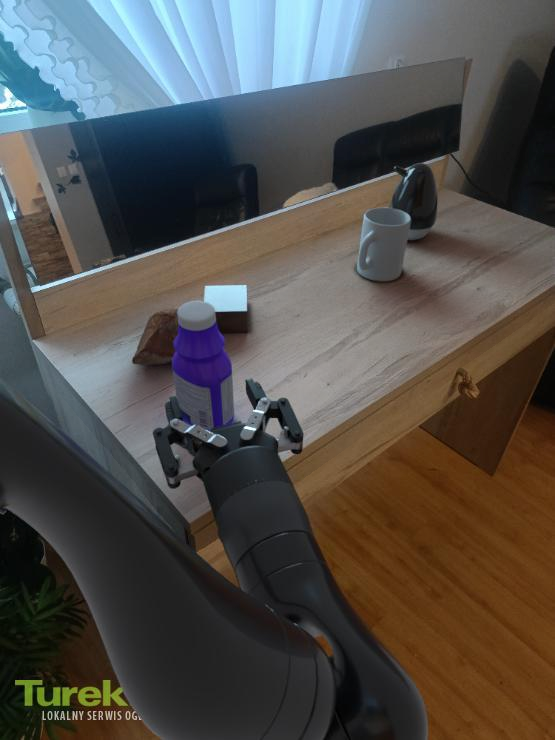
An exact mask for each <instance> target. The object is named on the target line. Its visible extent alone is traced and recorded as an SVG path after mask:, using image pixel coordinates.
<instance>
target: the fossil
mask: <svg viewBox="0 0 555 740" xmlns="http://www.w3.org/2000/svg"><path fill="white" fill-rule="evenodd" d="M178 309H179V308H164V309H161V310H157V311H155V312H154V313H153V314H152V315H151V316H150V317H149V319H148V320H147V323H146V325H145V327H144V329H143V333H142V334H141V337H140V339H139V342H138V344H137V347H136V351H135V353H134V355H133V357H132V360H131V363H132V364H133V365H142V366H144V365H145V366H151V365H152V366H153V365H154V366H155V365H157V366H158V365H168V364H172V359H173V356H174V354H175V352H176V350H175V348H174V340H175V338H176V337H177V335H178V315H177V312H178Z"/></svg>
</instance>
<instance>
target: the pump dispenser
mask: <svg viewBox="0 0 555 740" xmlns="http://www.w3.org/2000/svg"><path fill="white" fill-rule="evenodd" d="M393 171H394V172H395V173H396V174H398V175H399V176H401V179H400V180H399V182H398V184H397V186H395V187H396V188H395V190H394V192H393V194H392V197H391V199H390V203H389V206H388V208H394V209H398V210H401V211H404V212H406V213H407V214H408V215H409V216H410V217H411V224H410V229H409V234H408V239H407V241H416V240H420V239H423V238H424V237H426V235H428V234H429V233H430V231H431V230H432V227H433V226H434V225H435V224H436V221H437V214H438V187H437V182H436V181H437V180H436V176H435V174H434V171H433V169H432V167H431V166H430V165H428V164H426V163H423V162H417V163H414V164H412V165H410V167H408V169H405V168H403V167H401V166H399V165H395V166H394V167H393Z"/></svg>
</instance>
